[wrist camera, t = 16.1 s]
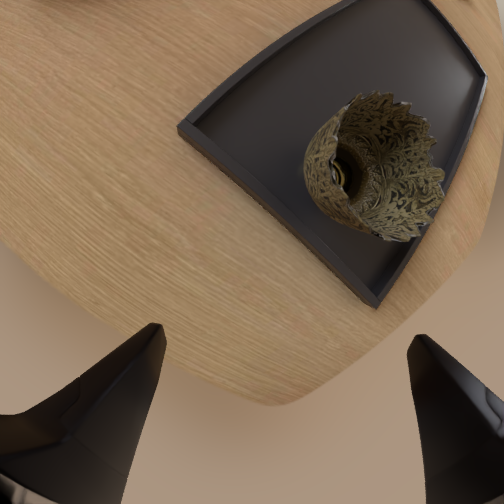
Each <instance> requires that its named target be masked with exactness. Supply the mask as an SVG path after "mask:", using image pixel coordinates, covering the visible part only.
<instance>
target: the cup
mask: <svg viewBox="0 0 504 504" xmlns="http://www.w3.org/2000/svg"><path fill="white" fill-rule="evenodd" d="M393 100H394V94H393V93H391V92H388V93H384V94H380V92H379V90H374V91H371V92H369V93H367V94H365V95H362V94H361V93H360V94H358V95H356V96H355V97H354V98H353V99H352V100H351V101H350V102H349V103H347V104H346V105H345V106H344V107H343V108H342V109H341V110H339V111H338V112H337V113H336V114H335V115H334V116H333V117H332V118H331V119H329V120H328V121H327V122H326V123H325V124H324V125H323V126H322V127H321V128H320V129H319V130H318V132H317V133H316V134H315V136H314V137H313V138H312V140H311V142H310V144H309V145H308V148H307V150H306V153H305V158H304V167H303V170H304V179H305V184H306V187H307V190H308V192H309V194H310V196H311V198H312V199H313V201H314V202H315V204H316V205H317V206H318V207H319V208H320V210H321V211H323V212H324V213H325V214H326V215H328V216H329V217H330V218H332V219H333V220H335V221H337V222H339V223H341V224H343V225H346V226H348V227H351V228H354V229H356V230H359V231H362V232H365V233H368V234H371V235H374V236H377V237H379V238H381V239H383V240H385V241H389V242H391V240H395V241H399V242H408V241H409V240H410V238H412V237H419V236H421V233H420V231H419V229H418V226H425V225H427V224H431V223H433V222H434V220H433V219H432V218H431V217H430V216H429V214H430V213H431V212H432V211H433V210H436V209H437V208H438V207H439V205H440V204H441V203H442V202H443V201H444V198H445V196H444V193H443V191H442V188H441V185H440V183H441V181H443V180H444V177H445V172H444V171H443V170H442V169H441V168H436V167H435V168H434V166H433V167H432V165H433V164H432V163H431V162H432V159H433V156H432V155H431V153H430V152H429V149H431V146H433V145H435V144H436V143H437V139H436V138H434V137H432V136H428V133H429V130H430V126H431V125H430V121H428V120H427V119H426V118H425V117H422V116H420V115H414V114H411V113H410V112H409V111H410V108H411V106H412V103H410V102H399V103H395V104H393V103H394V101H393ZM335 176H336V179H335Z"/></svg>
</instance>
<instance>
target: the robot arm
mask: <svg viewBox="0 0 504 504" xmlns="http://www.w3.org/2000/svg"><path fill="white" fill-rule="evenodd" d="M166 345H167V341H166V337H165V333H164V329H163V326H162V325H161V324H158V323H149V324H148V325H147V326H145V327H144V328H143V329H141V330H140V331H139V332H137V333H136V334H135V335H133V336H132V337H131V338H129V339H128V340H127V341H125V342H124V343H123V344H121V345H120V346H119V347H117V348H116V349H115V350H114V351H112V352H111V353H109V354H108V355H107V356H106V357H104V358H103V359H101V360H100V361H99V362H98V363H96V364H95V365H94V366H92V367H91V368H90V369H88V370H87V371H86V372H84V373H83V374H82V375H81V376H80V377H78V378H76V379H75V380H74V381H73V382H71V383H70V384H68V385H67V386H65V387H64V388H63V389H61V390H60V391H58V392H57V393H55V394H54V395H52V396H50V397H49V398H47V399H46V400H44V401H42V402H41V403H39V404H37V405H36V406H34V407H32V408H30V409H29V410H27V411H25V412H22V413H20V414H15V415H0V504H121V500H122V497H123V493H124V489H125V486H126V482H127V478H128V475H129V471H130V468H131V465H132V461H133V458H134V455H135V451H136V448H137V445H138V442H139V439H140V435H141V432H142V429H143V426H144V423H145V420H146V417H147V414H148V411H149V408H150V405H151V402H152V399H153V396H154V393H155V390H156V387H157V384H158V380H159V376H160V372H161V367H162V363H163V359H164V354H165V350H166ZM407 360H408V367H409V374H410V382H411V390H412V395H413V400H414V405H415V410H416V415H417V421H418V427H419V433H420V440H421V447H422V455H423V464H424V474H425V481H426V482H425V490H426V504H504V402H503V401H502V400H501V399H500V398H499V397H497V396H496V395H495V394H494V393H493V392H492V391H491V390H490V389H488V388H487V387H486V386H485V385H484V384H483V383H482V382H481V381H480V380H479V379H478V378H476V377H475V376H474V375H473V374H472V373H470V371H469V370H467V369H466V368H465V367H464V366H463V365H462V364H461V363H459V362H458V361H457V360H456V359H455V358H454V357H452V356H451V355H450V354H449V353H448V352H447V351H445V350H444V349H443V348H442V347H441V346H440V345H438V344H437V343H436V342H435V341H433V340H432V339H431V338H430V337H429V336H427V335H426V334H419V335H416V336H415V337H414V339H413V341H412V343H411V344H410V346H409V348H408V351H407Z"/></svg>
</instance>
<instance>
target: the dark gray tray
mask: <svg viewBox="0 0 504 504" xmlns="http://www.w3.org/2000/svg"><path fill="white" fill-rule="evenodd" d="M487 80H488V76H487V75H486V73H485V71H484V70H483V68H482V66H481V65H480V63H479V62H478V60H477V59H476V57H475V56H474V54H473V53H472V51H471V50H470V48H469V47H468V45H467V44H466V43H465V41H464V40H463V39H462V37H461V36H460V35H459V33H458V32H457V31H456V29H455V28H454V27H453V26H452V24H451V23H450V22H449V21H448V20H447V18H446V17H445V16H444V15H443V14H442V13H441V12H440V10H439V9H438V8H437V7H436V6H435V5H434V4H433V3H432V2H431V1H430V0H342V1H341V2H339V3H337V4H335V5H333V6H331V7H329V8H328V9H326V10H324V11H322V12H320V13H319V14H317V15H315V16H314V17H312V18H310V19H309V20H307V21H305V22H304V23H302V24H301V25H299V26H297V27H296V28H294V29H293V30H291V31H290V32H288V33H287V34H285V35H284V36H282V37H281V38H279V39H278V40H276V41H275V42H274V43H272V44H271V45H269V46H268V47H267V48H265V49H264V50H263V51H261V52H260V53H259V54H257V55H256V56H255V57H253V58H252V59H251V60H249V61H248V62H247V63H246V64H244V65H243V66H242V67H241V68H239V69H238V70H237V71H236V72H234V73H233V74H232V75H231V76H230V77H228V78H227V79H226V80H225V81H224V82H223V83H221V84H220V85H219V86H218V87H217V88H216V89H215V90H214V91H212V92H211V93H210V94H209V95H208V96H207V97H206V98H205V99H204V100H203V101H202V102H200V103H199V104H198V105H197V106H196V107H195V108H194V109H193V110H192V111H191V112H190V113H189V114H188V115H187V116H186V117H185V118H184V119H183V120H182V121H181V122H180V123H179V124H178V125H177V131H178V134H179V135H180V136H181V137H182V138H183V139H185V140H186V141H187V142H188V143H190V144H191V145H192V146H193V147H194V148H196V149H197V150H198V151H199V152H200V153H202V154H203V155H204V156H205V157H206V158H207V159H209V160H210V161H211V162H212V163H213V164H215V165H216V166H217V167H218V168H219V169H220V170H222V171H223V172H224V173H225V174H226V175H227V176H229V177H230V178H231V179H232V180H233V181H234V182H235V183H237V184H238V185H239V186H240V187H241V188H242V189H243V190H245V191H246V192H247V193H248V194H249V195H250V196H251V197H252V198H254V199H255V200H256V201H257V202H258V203H259V204H260V205H261V206H263V207H264V208H265V209H266V210H267V211H268V212H269V213H270V214H271V215H273V216H274V217H275V218H276V219H277V220H278V221H279V222H280V223H281V224H282V225H283V226H285V227H286V228H287V229H288V230H289V231H290V232H291V233H292V234H293V235H294V236H295V237H296V238H298V239H299V240H300V241H301V242H302V243H303V244H304V245H305V246H306V247H307V248H308V249H309V250H310V251H311V252H312V253H313V254H315V255H316V256H317V257H318V258H319V259H320V260H321V261H322V262H323V263H324V264H325V265H326V266H327V267H328V268H329V269H330V270H331V271H332V272H333V273H334V274H335V275H336V276H337V277H338V278H339V279H340V280H341V281H342V282H344V283H345V284H346V285H347V286H348V287H349V288H350V289H351V290H352V291H353V292H354V293H355V294H356V295H357V296H358V297H359V298H360V299H361V300H362V301H363V302H364V303H365V304H367V305H369V306H371V307H373V308H374V309H377V308H378V306H379V305H380V303H381V302H382V301H383V299H384V298H385V296H386V295H387V293H388V292H389V291H390V289H391V288H392V286H393V285H394V283H395V282H396V280H397V279H398V277H399V276H400V274H401V273H402V271H403V270H404V268H405V266H406V265H407V263H408V262H409V260H410V258H411V257H412V255H413V254H414V252H415V250H416V249H417V247H418V245H419V244H420V242H421V240H422V238H423V237H424V235H425V233H426V231H427V230H428V228H429V226H430V224H427V225H425V226H418V229H419V231H420V233H421V236H419V237H412V238H410V240H409V241H408V242H399V241H395V240H391V242H389V241H385V240H383V239H381V238H379V237H377V236H374V235H371V234H368V233H365V232H362V231H359V230H356V229H354V228H351V227H348V226H346V225H343V224H341V223H339V222H337V221H335V220H333V219H332V218H330V217H329V216H328V215H326V214H325V213H324V212H323V211H321V210H320V208H319V207H318V206H317V205H316V204H315V202H314V201H313V199H312V198H311V196H310V194H309V192H308V190H307V187H306V184H305V179H304V170H303V167H304V158H305V153H306V150H307V148H308V145H309V144H310V142H311V140H312V138H313V137H314V136H315V134H316V133H317V132H318V130H319V129H320V128H321V127H322V126H323V125H324V124H325V123H326V122H327V121H328V120H329V119H331V118H332V117H333V116H334V115H335V114H336V113H337V112H338V111H339V110H341V109H342V108H343V107H344V106H345V105H346V104H347V103H349V102H350V101H351V100H352V99H353V98H354V97H355V96H356V95H358V94H360V93H361V94H362V95H365V94H367V93H369V92H371V91H374V90H379V92H380V94H384V93H388V92H391V93H393V94H394V100H393V101H394V103H393V104H395V103H399V102H410V103H412V106H411V108H410V111H409V112H410V113H411V114H414V115H420V116H422V117H425V118H426V119H427V120H428V121H430V125H431V126H430V130H429V133H428V136H432V137H434V138H436V139H437V143H436V144H435V145H433V146H431V149H429V152H430V153H431V155H432V156H433V159H432V162H431V163H432V164H433V165H432V167H433V166H434V168H435V167H436V168H441V169H442V170H443V171H444V172H445V177H444V180H443V181H441V183H440V185H441V188H442V191H443V193H444V196H445V195H446V193H447V191H448V189H449V187H450V184H451V182H452V180H453V178H454V176H455V173H456V171H457V169H458V167H459V164H460V162H461V159H462V157H463V155H464V152H465V150H466V147H467V144H468V142H469V139H470V136H471V134H472V131H473V128H474V125H475V122H476V119H477V116H478V113H479V110H480V106H481V103H482V99H483V96H484V92H485V88H486V84H487ZM335 179H336V176H335ZM440 205H441V204H440ZM440 205H439V207H440ZM439 207H438V208H437V209H436V210H433V211H432V212H431V213H430V214H429V216H430V217H431V218H432V219H434V217H435V215H436V213H437V211H438V209H439Z"/></svg>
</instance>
